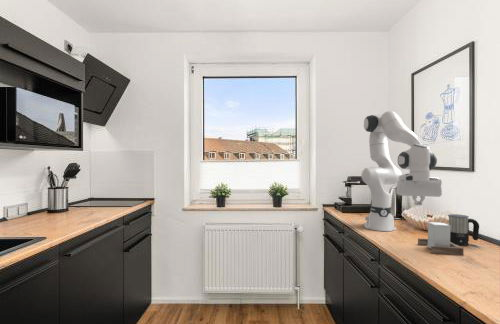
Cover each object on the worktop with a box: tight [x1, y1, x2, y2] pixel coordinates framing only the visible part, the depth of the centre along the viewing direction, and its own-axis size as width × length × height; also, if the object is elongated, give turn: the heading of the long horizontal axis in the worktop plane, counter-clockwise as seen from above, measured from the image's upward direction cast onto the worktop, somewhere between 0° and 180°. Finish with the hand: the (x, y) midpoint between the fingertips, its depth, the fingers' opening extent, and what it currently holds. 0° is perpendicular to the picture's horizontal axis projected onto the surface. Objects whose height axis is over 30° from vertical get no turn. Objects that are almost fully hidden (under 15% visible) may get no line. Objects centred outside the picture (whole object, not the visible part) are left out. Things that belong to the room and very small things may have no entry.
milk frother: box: [447, 213, 480, 246], centre depth 168 cm, size 14×16×15 cm
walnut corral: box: [417, 238, 465, 256], centre depth 153 cm, size 16×14×3 cm
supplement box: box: [427, 221, 450, 249], centre depth 153 cm, size 7×7×13 cm
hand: (418, 205), depth 154 cm, fingers closed
